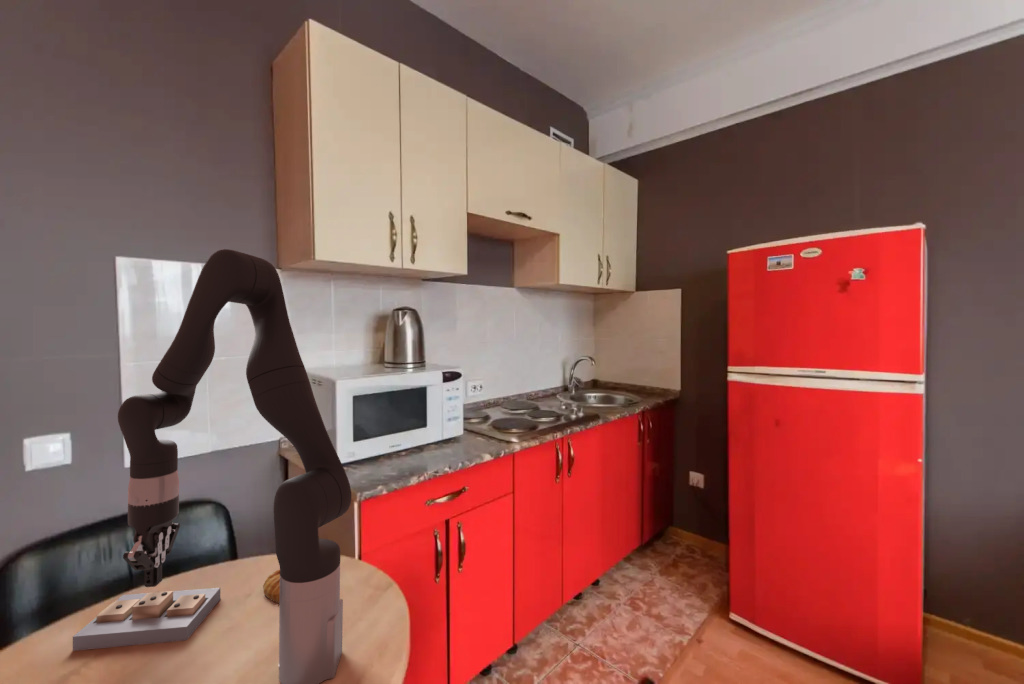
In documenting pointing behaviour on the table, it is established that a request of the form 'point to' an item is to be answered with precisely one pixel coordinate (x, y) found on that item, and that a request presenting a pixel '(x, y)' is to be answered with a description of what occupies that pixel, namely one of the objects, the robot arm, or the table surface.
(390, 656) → the table surface
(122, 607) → the button
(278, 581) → the pastry
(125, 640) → the panel
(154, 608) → the button
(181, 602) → the button
